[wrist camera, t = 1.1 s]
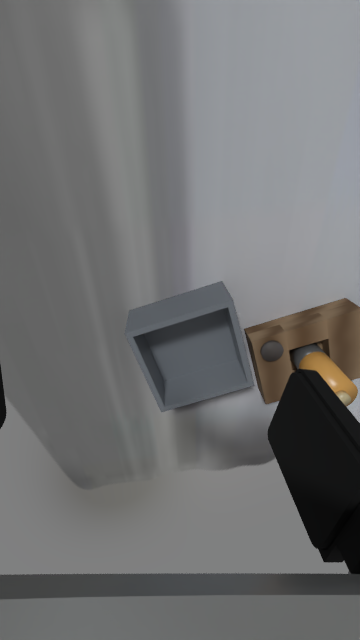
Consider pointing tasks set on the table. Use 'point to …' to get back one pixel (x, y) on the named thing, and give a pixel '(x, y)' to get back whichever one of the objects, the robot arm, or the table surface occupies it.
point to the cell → (324, 370)
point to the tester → (304, 343)
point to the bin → (190, 346)
